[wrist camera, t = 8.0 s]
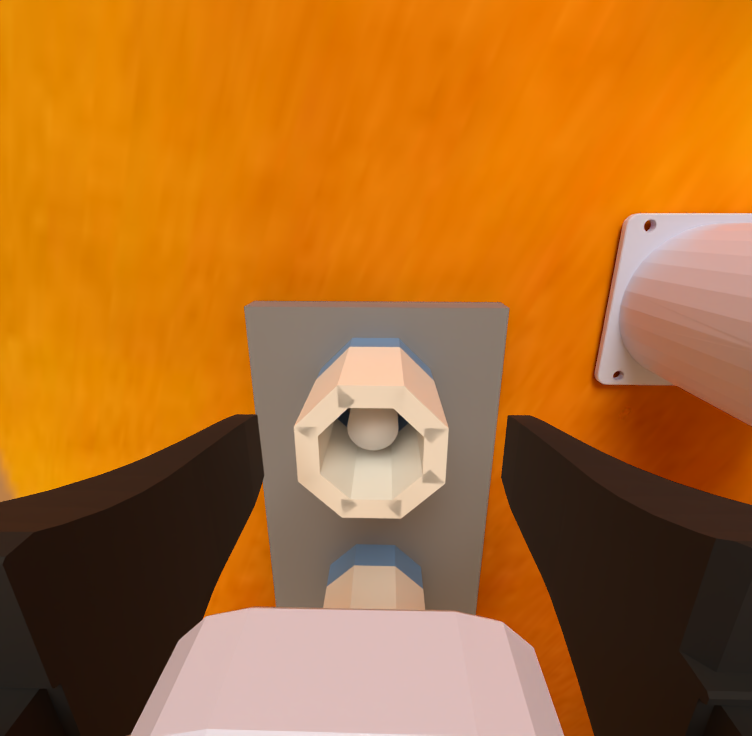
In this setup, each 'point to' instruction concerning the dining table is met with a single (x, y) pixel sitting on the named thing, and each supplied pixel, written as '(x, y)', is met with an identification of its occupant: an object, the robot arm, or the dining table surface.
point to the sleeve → (372, 467)
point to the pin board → (468, 439)
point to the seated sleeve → (375, 580)
